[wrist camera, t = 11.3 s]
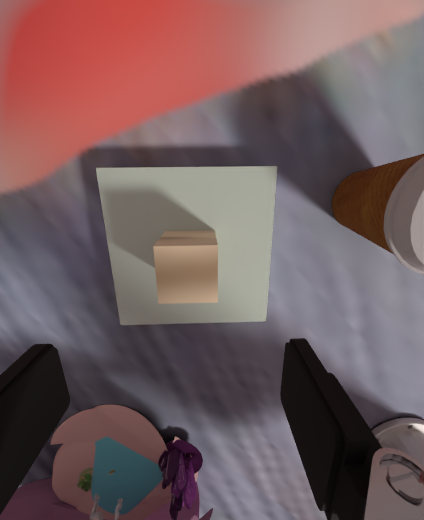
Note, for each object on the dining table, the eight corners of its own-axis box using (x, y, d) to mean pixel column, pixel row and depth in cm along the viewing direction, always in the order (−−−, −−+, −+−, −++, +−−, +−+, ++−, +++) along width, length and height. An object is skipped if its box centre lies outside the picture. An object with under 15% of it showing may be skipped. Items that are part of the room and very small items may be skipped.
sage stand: (260, 308, 30) (266, 321, 27) (128, 311, 30) (120, 325, 27) (269, 168, 25) (277, 166, 22) (108, 169, 24) (95, 167, 22)
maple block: (214, 275, 25) (217, 302, 20) (168, 276, 25) (158, 303, 19) (214, 230, 24) (217, 245, 18) (165, 230, 24) (153, 246, 18)
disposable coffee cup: (340, 142, 24) (461, 105, 13) (418, 170, 25) (592, 160, 14) (303, 228, 27) (375, 262, 16) (375, 250, 28) (490, 296, 17)
